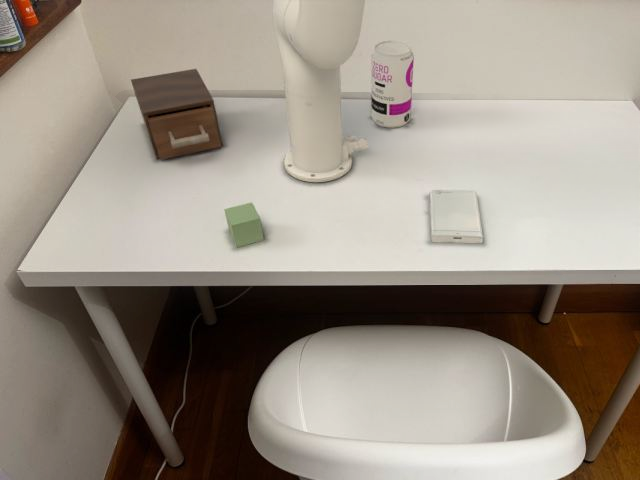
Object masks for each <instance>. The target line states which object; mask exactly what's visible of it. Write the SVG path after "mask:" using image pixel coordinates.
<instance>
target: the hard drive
mask: <svg viewBox="0 0 640 480" xmlns="http://www.w3.org/2000/svg"><path fill="white" fill-rule="evenodd" d="M429 213H430V214H429V216H430V233H431V242H432V243H433V242H434V243H449V244H450V243H451V244H452V243H455V244H456V243H457V244H482V243H483V242H484V233H483V227H482V225H483V224H482V219H481V214H480V206H479V198H478V193H477V191H476V190H462V189H461V190H459V189H458V190H457V189H455V190H454V189H430V190H429Z"/></svg>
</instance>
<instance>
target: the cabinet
mask: <svg viewBox="0 0 640 480" xmlns="http://www.w3.org/2000/svg"><path fill="white" fill-rule="evenodd" d="M130 82H131V85H132V88H133V91H134V96H135V98H136V101H137V106H138V109H139V112H140V115H141V118H142V121H143V124H144V127H145V130H146V133H147V137H148V139H149V142H150V145H151V148H152V150H153V154H154V156H155V159H156V161H158V160H161V159H160V157H159V154H158V151H157V147H156V144H155V141H154V137H153V134H152V131H151V128H150V124H149V121H148V118H150V117H149V116H151V115H156V114H161V113H167V112H172V111H177V110H183V109H188V108H193V107H199V106H204V105H207V107H211V106H212V108H213V110H214V115H215V119H216V124H217V129H218V134H219V138H220V143H221V147H224V143H223V139H222V134H221V129H220V124H219V119H218V114H217V110H216V105H215V100H214V98H213V96H212V94H211V93H210V91H209V89H208V87H207V86H206V83H205V81H204V79H203V78H202V76H201V74H200V72H199V71H198V69H197V68H191V69H185V70H179V71H174V72H168V73H161V74H156V75H149V76H144V77H138V78H132V79H130Z"/></svg>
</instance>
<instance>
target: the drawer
mask: <svg viewBox="0 0 640 480" xmlns="http://www.w3.org/2000/svg"><path fill="white" fill-rule="evenodd" d="M149 117H150V118H148V121H149V124H150V128H151V131H152V134H153V137H154V141H155V144H156V147H157V151H158V154H159V157H160V159H159V160H165V159H169V158H174V157H179V156H184V155H188V154H194V153H197V152H202V151H208V150H212V149H217V148H221V147H222V146H221V143H220V138H219V134H218V129H217V124H216V119H215V115H214V110H213V108H212V106H211V107H207V105H204V106H199V107H193V108H188V109H183V110H177V111H172V112H167V113H161V114H156V115H151V116H149Z"/></svg>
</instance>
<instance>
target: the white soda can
mask: <svg viewBox="0 0 640 480" xmlns="http://www.w3.org/2000/svg"><path fill="white" fill-rule="evenodd" d="M370 57H371V59H370V65H371V69H370V74H371V75H370V76H371V77H370V85H371V86H370V87H371V88H370V91H371V92H370V93H371V95H370V96H371V97H370V99H371V105H370V106H371V108H370V109H371V110H370V114H371V115H370V116H371V119H372V121H373V122H375V124H376V125H377V126H380V127H382V128H388V129H393V128H394V129H395V128H400V127H403V126H405V125H406V124H407V123H408V122H409V121H410V120H411V118H412V117H411V116H412V99H413V98H412V96H413V81H414V80H413V78H414V62H415V61H414V60H415V55H414V53H413V51H412V47H411V45H410V44H408V43H407V42H404V41H400V40H383V41H381V42H378V43H376V44H375V45H374V49H373V51H372V53H371V55H370Z"/></svg>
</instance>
